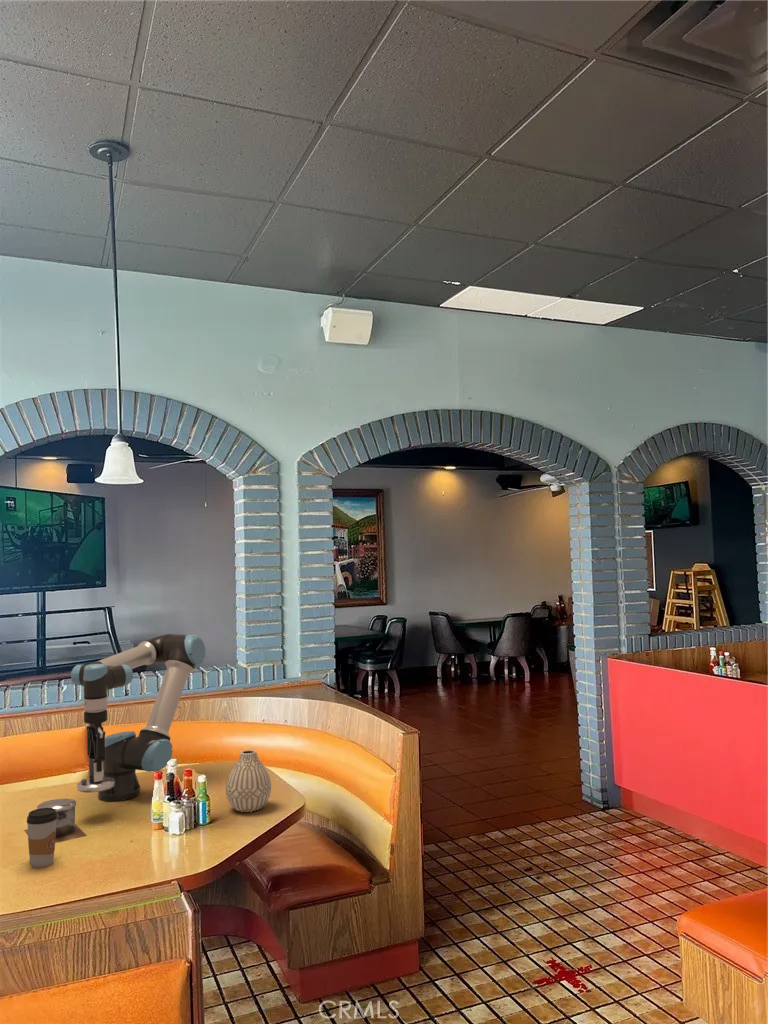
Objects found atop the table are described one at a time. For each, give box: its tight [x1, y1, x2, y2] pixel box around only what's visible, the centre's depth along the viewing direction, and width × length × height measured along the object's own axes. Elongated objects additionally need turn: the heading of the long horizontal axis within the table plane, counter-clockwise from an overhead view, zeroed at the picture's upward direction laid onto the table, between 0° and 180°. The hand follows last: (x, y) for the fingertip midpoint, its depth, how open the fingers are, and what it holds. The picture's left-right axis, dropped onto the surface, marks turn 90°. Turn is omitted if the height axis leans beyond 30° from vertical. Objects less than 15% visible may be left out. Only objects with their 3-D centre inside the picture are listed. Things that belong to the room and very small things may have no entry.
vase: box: [225, 749, 272, 813], centre depth 274 cm, size 16×16×20 cm
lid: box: [76, 757, 115, 793], centre depth 264 cm, size 12×12×10 cm
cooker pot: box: [36, 798, 77, 838], centre depth 251 cm, size 16×12×9 cm
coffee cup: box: [26, 808, 57, 869], centre depth 228 cm, size 8×8×15 cm
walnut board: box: [23, 823, 88, 844], centre depth 251 cm, size 15×19×1 cm
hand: (96, 779), depth 264 cm, fingers closed on lid, 4 cm apart
